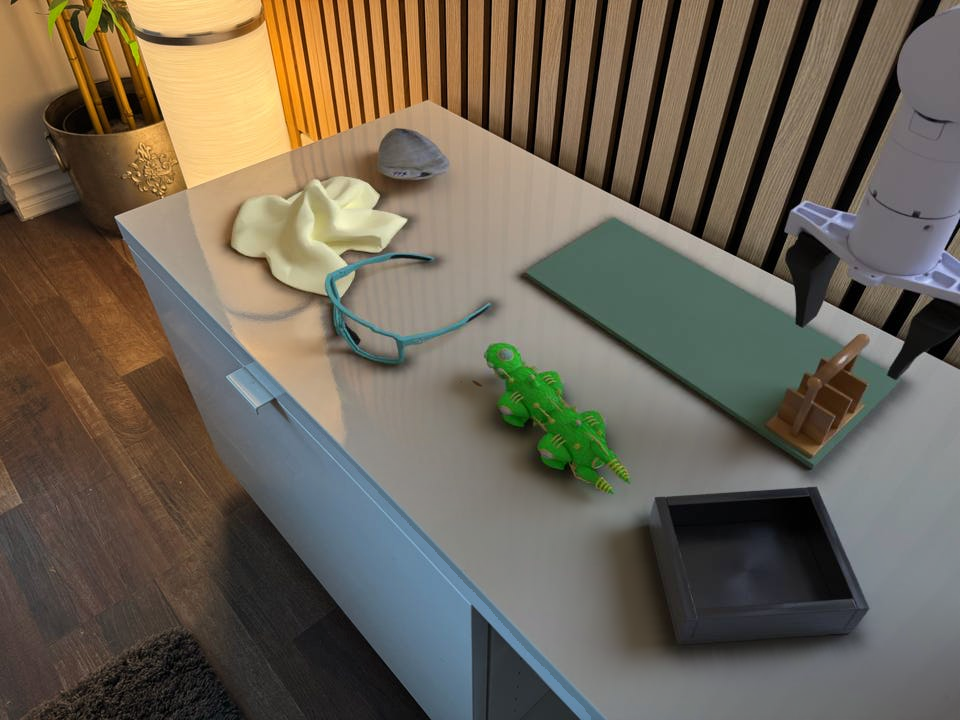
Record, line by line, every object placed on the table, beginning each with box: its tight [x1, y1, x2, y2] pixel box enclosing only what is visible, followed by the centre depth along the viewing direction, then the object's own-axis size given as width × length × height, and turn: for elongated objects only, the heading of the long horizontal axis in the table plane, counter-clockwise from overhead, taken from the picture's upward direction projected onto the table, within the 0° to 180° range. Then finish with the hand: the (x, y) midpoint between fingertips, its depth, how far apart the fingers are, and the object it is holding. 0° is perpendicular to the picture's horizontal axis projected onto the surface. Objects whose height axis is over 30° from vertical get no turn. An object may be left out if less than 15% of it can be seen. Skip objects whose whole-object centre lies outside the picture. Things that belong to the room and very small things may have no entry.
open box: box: [648, 486, 870, 646], centre depth 54 cm, size 12×10×4 cm
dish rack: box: [765, 333, 871, 458], centre depth 62 cm, size 8×4×8 cm, turn 131°
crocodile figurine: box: [483, 342, 632, 495], centre depth 64 cm, size 7×18×4 cm, turn 34°
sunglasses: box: [325, 252, 492, 365], centre depth 75 cm, size 14×15×5 cm
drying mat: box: [524, 216, 902, 470], centre depth 74 cm, size 34×14×1 cm, turn 41°
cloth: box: [230, 175, 408, 299], centre depth 84 cm, size 22×19×6 cm
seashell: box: [376, 127, 451, 181], centre depth 93 cm, size 12×8×5 cm
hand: (850, 344), depth 58 cm, fingers open, 7 cm apart
